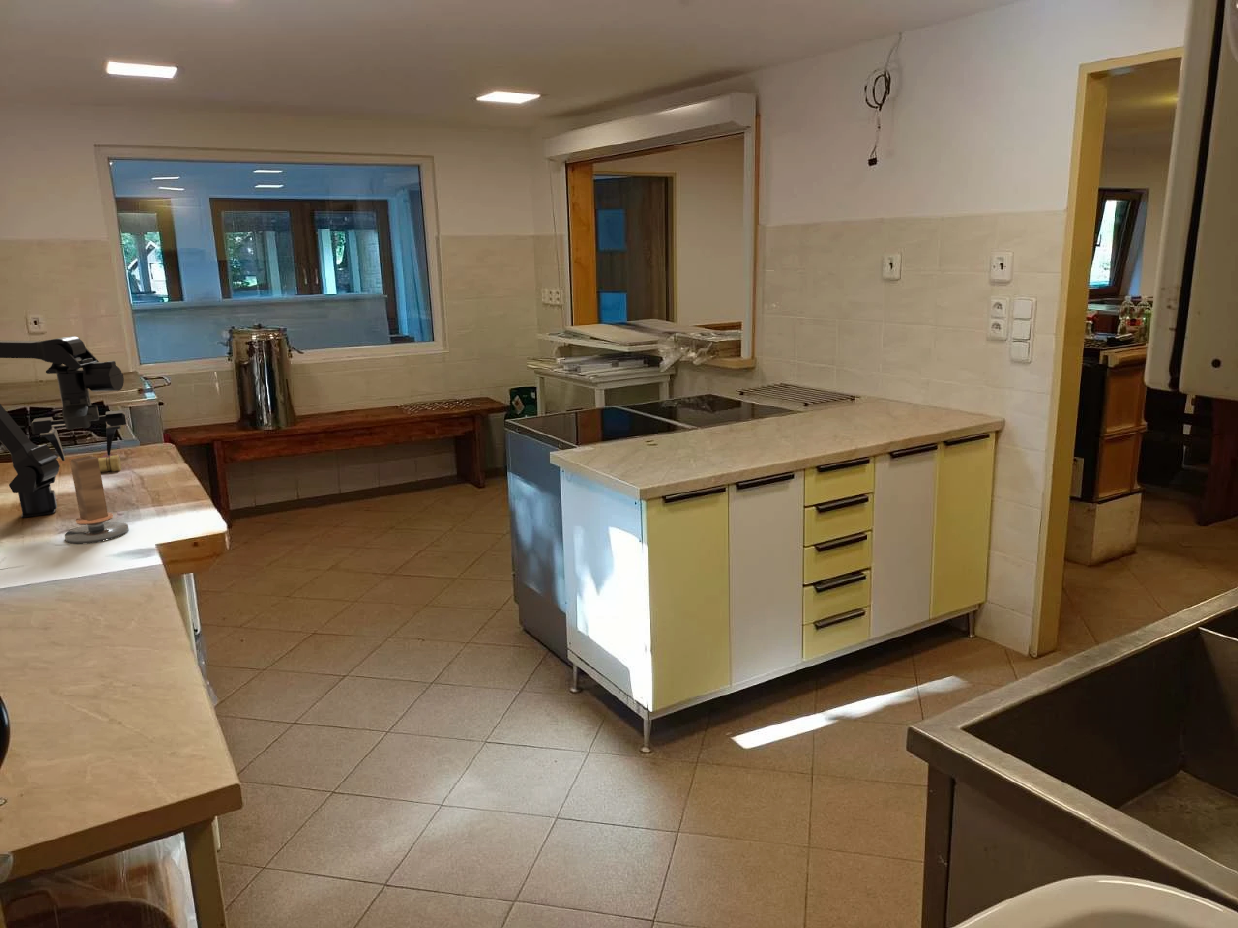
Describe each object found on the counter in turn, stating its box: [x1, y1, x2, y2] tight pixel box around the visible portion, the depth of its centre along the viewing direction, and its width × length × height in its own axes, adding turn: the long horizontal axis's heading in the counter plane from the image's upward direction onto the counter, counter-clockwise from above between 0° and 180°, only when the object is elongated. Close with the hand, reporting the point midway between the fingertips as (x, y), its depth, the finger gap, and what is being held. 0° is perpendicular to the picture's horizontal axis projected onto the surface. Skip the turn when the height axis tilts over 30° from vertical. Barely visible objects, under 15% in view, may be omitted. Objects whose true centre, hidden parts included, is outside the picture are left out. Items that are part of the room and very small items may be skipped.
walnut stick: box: [69, 455, 108, 521], centre depth 190 cm, size 4×4×13 cm
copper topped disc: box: [64, 511, 129, 545], centre depth 192 cm, size 12×12×4 cm
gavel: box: [97, 452, 122, 473], centre depth 255 cm, size 21×5×10 cm
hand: (86, 458), depth 207 cm, fingers open, 9 cm apart
